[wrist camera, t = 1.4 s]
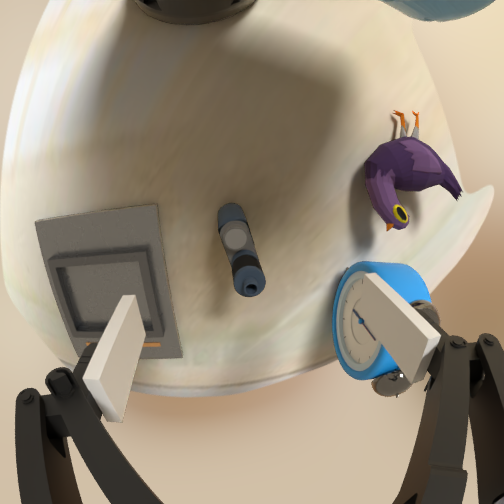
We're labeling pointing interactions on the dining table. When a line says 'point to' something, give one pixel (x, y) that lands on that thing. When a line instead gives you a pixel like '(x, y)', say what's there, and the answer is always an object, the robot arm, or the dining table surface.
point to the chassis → (110, 274)
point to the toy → (404, 174)
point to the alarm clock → (359, 333)
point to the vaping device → (240, 250)
